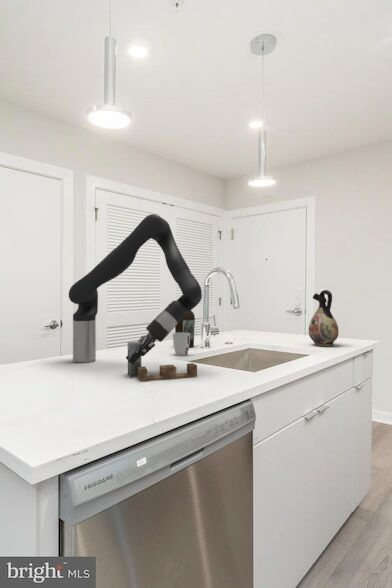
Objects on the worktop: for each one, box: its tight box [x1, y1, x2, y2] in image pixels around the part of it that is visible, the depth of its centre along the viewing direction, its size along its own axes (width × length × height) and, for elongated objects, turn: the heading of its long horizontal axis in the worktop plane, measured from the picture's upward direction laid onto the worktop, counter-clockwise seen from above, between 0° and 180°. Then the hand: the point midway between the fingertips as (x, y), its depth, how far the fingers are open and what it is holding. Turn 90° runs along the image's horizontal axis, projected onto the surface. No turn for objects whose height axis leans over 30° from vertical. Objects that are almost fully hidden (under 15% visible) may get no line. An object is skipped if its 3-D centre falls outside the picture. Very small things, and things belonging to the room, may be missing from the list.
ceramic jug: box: [308, 289, 339, 347], centre depth 205 cm, size 17×15×30 cm
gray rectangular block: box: [127, 341, 142, 378], centre depth 135 cm, size 4×4×12 cm
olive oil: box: [174, 310, 196, 349], centre depth 200 cm, size 11×11×25 cm
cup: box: [172, 332, 190, 357], centre depth 177 cm, size 8×8×10 cm
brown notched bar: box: [137, 362, 198, 382], centre depth 131 cm, size 20×4×4 cm, turn 110°
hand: (129, 361), depth 134 cm, fingers closed on gray rectangular block, 4 cm apart
